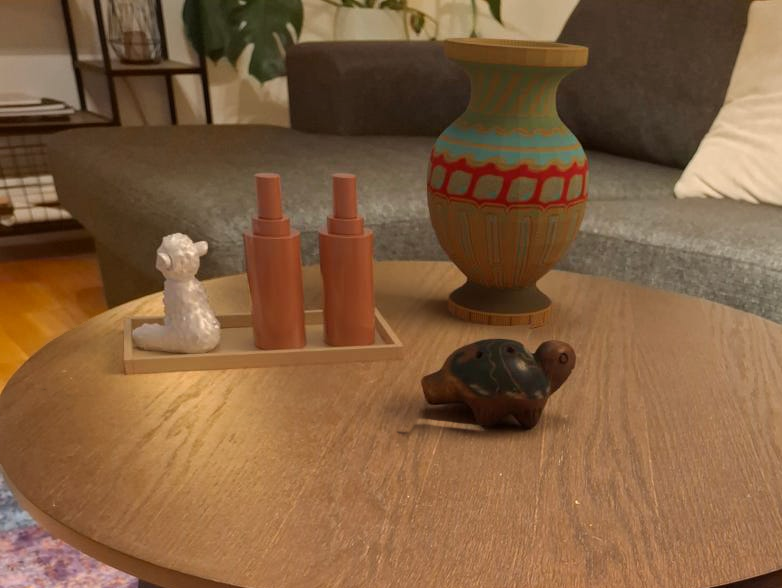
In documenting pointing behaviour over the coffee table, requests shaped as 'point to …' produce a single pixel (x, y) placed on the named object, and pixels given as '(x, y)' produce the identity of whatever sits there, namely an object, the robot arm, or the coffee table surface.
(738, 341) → the coffee table surface
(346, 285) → the far bottle
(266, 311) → the near bottle
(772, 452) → the coffee table surface
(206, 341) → the sitting furry creature
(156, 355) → the tray
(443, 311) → the coffee table surface
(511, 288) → the vase
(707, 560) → the coffee table surface
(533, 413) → the decorative turtle
